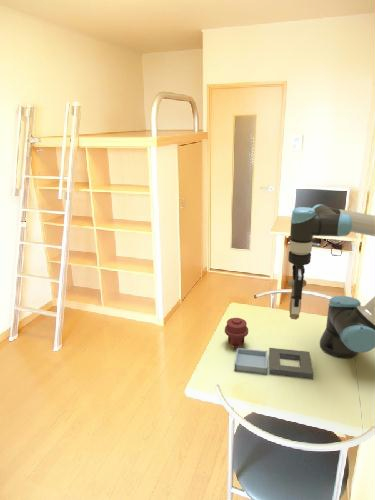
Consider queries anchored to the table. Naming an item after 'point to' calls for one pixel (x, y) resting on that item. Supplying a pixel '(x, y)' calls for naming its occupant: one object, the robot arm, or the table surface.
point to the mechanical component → (236, 331)
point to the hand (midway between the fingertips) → (294, 310)
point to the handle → (291, 283)
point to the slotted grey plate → (290, 371)
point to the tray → (251, 361)
